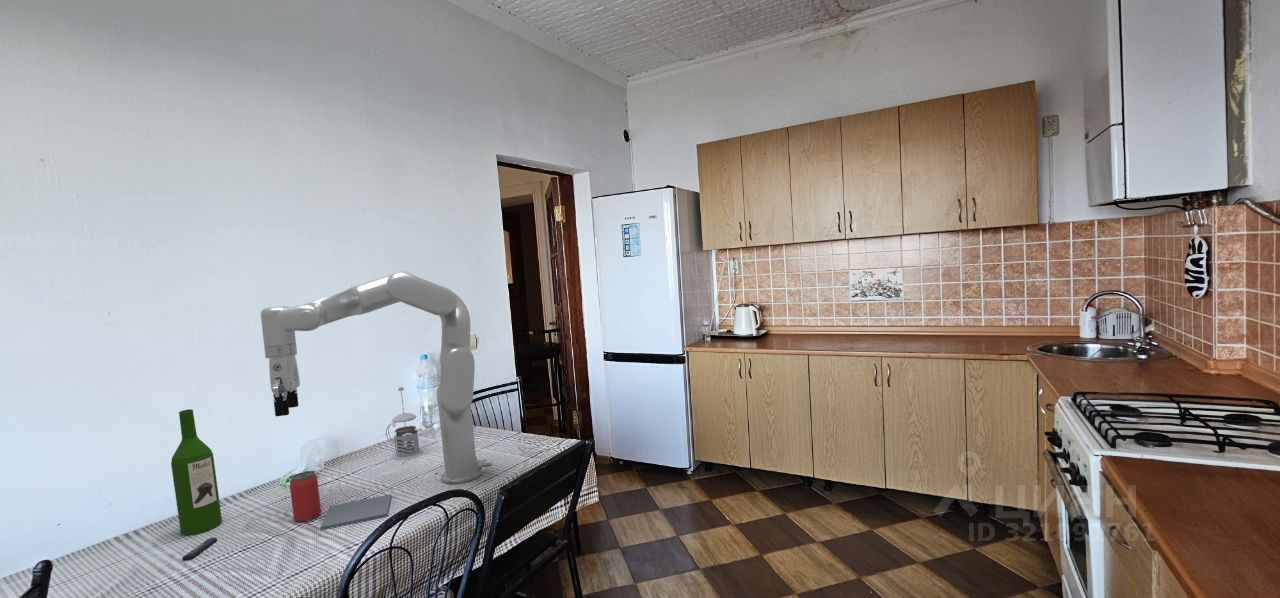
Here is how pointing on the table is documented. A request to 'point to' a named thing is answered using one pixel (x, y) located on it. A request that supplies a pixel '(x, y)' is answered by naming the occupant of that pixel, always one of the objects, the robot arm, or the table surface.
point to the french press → (405, 437)
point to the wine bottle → (195, 481)
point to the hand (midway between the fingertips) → (287, 411)
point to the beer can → (305, 496)
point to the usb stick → (199, 549)
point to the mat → (357, 511)
